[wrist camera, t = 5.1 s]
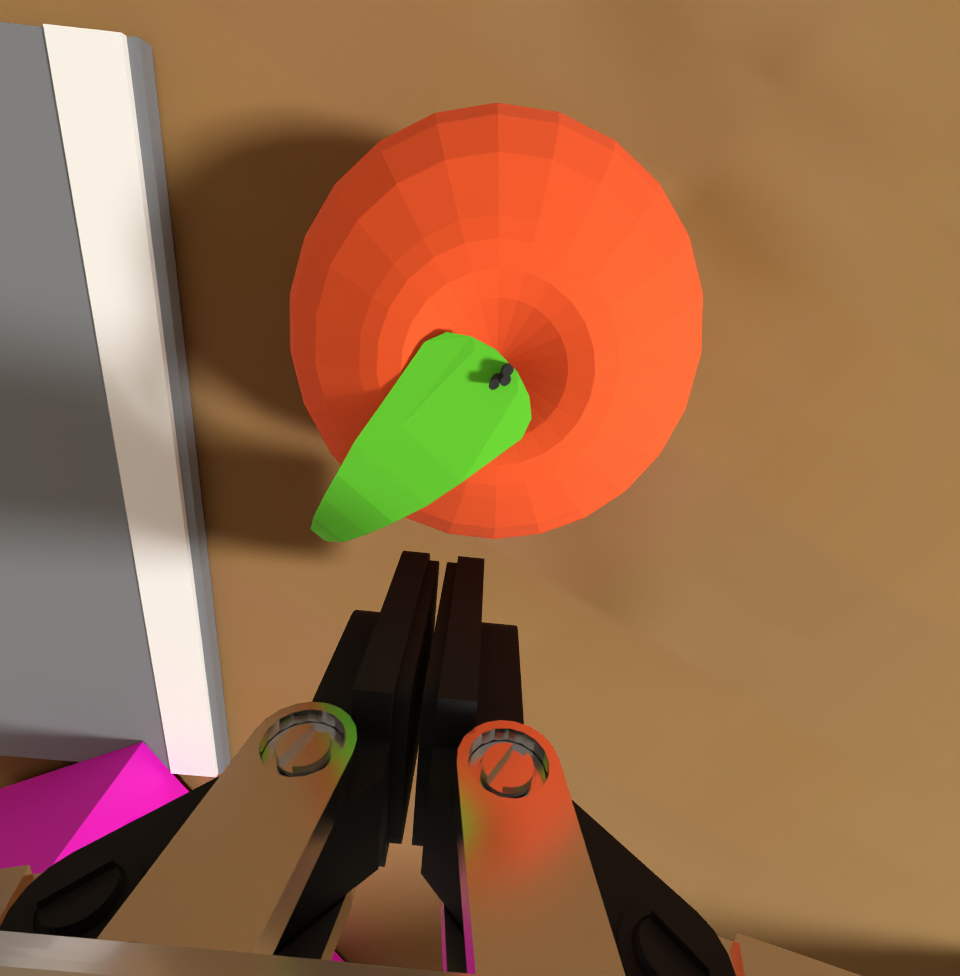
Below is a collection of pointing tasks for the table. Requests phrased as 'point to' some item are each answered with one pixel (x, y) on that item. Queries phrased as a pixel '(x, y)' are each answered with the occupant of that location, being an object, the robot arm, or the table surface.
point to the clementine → (492, 325)
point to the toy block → (81, 806)
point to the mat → (96, 420)
